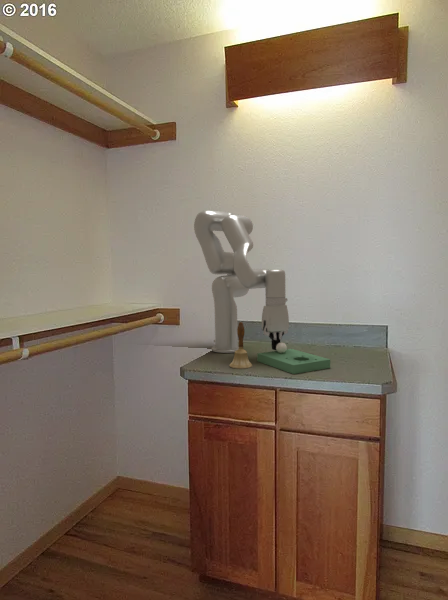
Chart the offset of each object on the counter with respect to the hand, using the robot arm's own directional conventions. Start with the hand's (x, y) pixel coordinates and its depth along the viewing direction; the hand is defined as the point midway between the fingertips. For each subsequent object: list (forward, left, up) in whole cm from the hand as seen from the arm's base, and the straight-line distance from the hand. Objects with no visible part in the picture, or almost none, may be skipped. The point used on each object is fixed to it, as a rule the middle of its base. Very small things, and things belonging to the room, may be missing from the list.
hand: (276, 349), depth 166 cm
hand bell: (+2, -17, -4) cm, 18 cm away
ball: (+4, 0, +1) cm, 4 cm away
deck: (+10, 0, -4) cm, 11 cm away
